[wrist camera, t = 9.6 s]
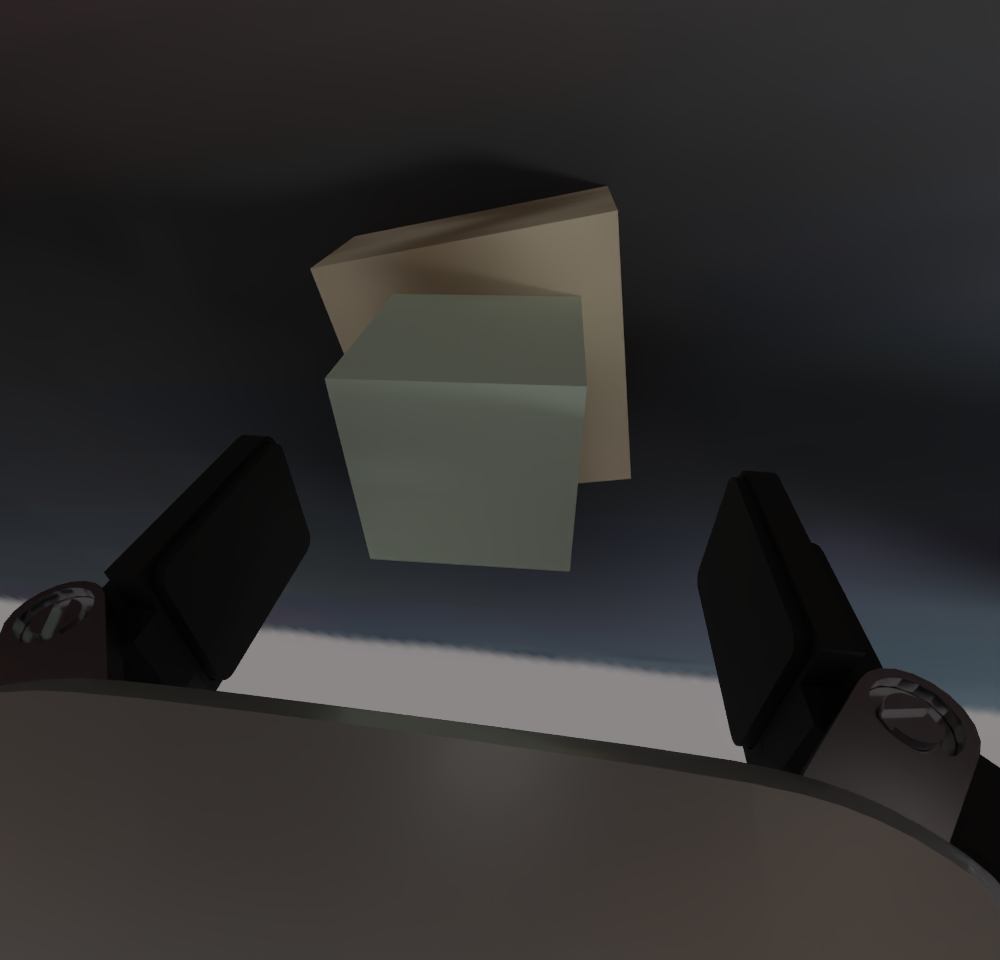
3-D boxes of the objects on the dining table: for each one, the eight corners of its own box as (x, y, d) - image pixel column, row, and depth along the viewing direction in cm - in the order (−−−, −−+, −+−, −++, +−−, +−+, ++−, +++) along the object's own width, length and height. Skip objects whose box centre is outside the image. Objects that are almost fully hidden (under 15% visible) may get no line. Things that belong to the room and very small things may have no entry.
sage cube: (581, 296, 13) (587, 386, 9) (569, 454, 16) (569, 571, 12) (393, 293, 14) (324, 378, 10) (416, 447, 17) (370, 558, 13)
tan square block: (606, 184, 15) (617, 210, 12) (620, 416, 20) (631, 478, 17) (358, 233, 17) (310, 268, 14) (425, 438, 21) (401, 498, 18)
